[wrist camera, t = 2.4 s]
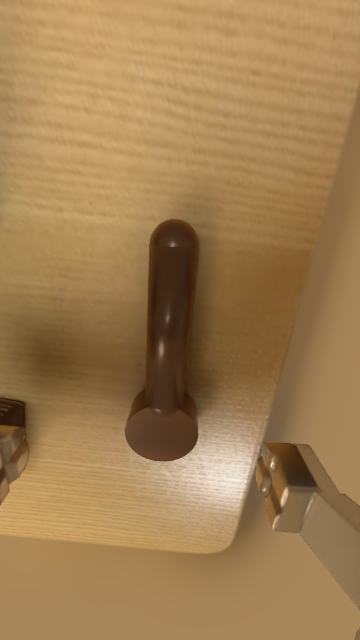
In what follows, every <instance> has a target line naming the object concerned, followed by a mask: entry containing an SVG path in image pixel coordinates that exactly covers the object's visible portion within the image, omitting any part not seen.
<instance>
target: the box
mask: <svg viewBox="0 0 360 640" xmlns="http://www.w3.org/2000/svg"><path fill="white" fill-rule="evenodd" d="M0 425H8V426H19V427H24V406H23V405H22V403H21V402H15V401H10V400H5V399H0Z"/></svg>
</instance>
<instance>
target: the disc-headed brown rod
mask: <svg viewBox="0 0 360 640" xmlns="http://www.w3.org/2000/svg"><path fill="white" fill-rule="evenodd" d="M198 250H199V242H198V237H197V234H196V232H195V231H194V229H193V228H192V227H191V226H190V225H189V224H188V223H186V222H184V221H182V220H178V219H170V220H166V221H164V222H162V223H161V224H159V225H158V226H157V227H156V228H155V229H154V231H153V233H152V235H151V238H150V246H149V280H148V313H147V347H146V381H145V390H144V391H142V392H141V393H140V394H139V395H138V396H137V397H136V398H135V400H134V402H133V404H132V407H131V411H130V414H129V417H128V420H127V424H126V427H125V436H126V440H127V442H128V444H129V446H130V447H131V448H132V449H133V450H134V451H135V452H136V453H137V454H139V455H141V456H142V457H144V458H147V459H150V460H154V461H172V460H176V459H179V458H181V457H183V456H185V455H187V454H188V453H189V452H190V451H191V450H192V449H193V448H194V446H195V445H196V442H197V439H198V424H197V411H196V406H195V403H194V401H193V400H192V398H191V397H190V396H189V395H188V394H187V393H185V392H184V389H185V379H186V369H187V359H188V349H189V339H190V329H191V319H192V309H193V300H194V290H195V280H196V270H197V260H198Z"/></svg>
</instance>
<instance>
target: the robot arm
mask: <svg viewBox="0 0 360 640" xmlns="http://www.w3.org/2000/svg"><path fill="white" fill-rule="evenodd" d="M26 436H27V434H26V430H25V428H24V427H19V426H8V425H0V505H1V503H2V502H3V500H4V499H5V497H6V496H7V494H8V493H9V484H10V483H11V482H13V481H14V480H16V479H17V478H19V477H20V475H21V474H22V472H23V470H24V469H25V467H26V464H27V462H28V459H29V452H30V450H29V445H28V444H27V443H26V442H25V441H24V438H25V437H26ZM260 452H261V454H262V456H261V457H260V458H259V459H258V460H257V464H256V478H257V484H258V487H259V490H260V492H261V493H262V494H263V495H264V497H265V498H266V499H267V500H266V503H265V510H266V513H267V516H268V519H269V522H270V525H271V528H272V531H281V532H291V533H301V534H300V536H301V537H302V538H303V539H304V541H305V542H306V543H307V544H308V546H309V547H310V548H311V550H312V551H313V552H314V553H315V554H316V556H317V557H318V558H319V560H320V561H321V562H322V563H323V565H324V566H325V567H326V568H327V570H328V571H329V572H330V573H331V575H332V576H333V577H334V578H335V580H336V581H337V582H338V583H339V585H340V586H341V587H342V588H343V590H344V591H345V592H346V594H347V595H348V596H349V597H350V599H351V600H352V601H353V602H354V603H355V605H356V606H357V607H358V609H359V610H360V506H359V505H358V504H357V503H355V502H354V501H353V500H352V499H351V498H349V497H348V496H347V495H346V494H340V493H339V491H338V490H337V488H336V486H335V485H334V483H333V481H332V480H331V478H330V477H329V475H328V474H327V472H326V470H325V469H324V467H323V466H322V464H321V462H320V461H319V459H318V458H317V456H316V455H315V453H314V451H313V450H312V448H311V447H310V446H309V445H307V444H291V443H273V442H263V444H262V445H261V448H260ZM355 640H360V627H359V629H358V630H357V632H356V635H355Z"/></svg>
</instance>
